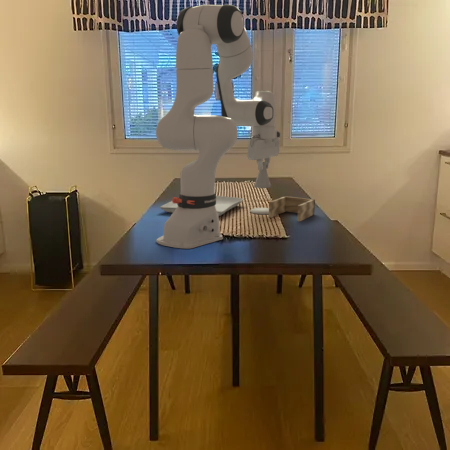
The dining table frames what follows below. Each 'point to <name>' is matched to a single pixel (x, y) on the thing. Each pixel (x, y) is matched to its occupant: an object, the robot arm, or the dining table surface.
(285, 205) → the u-shaped wooden frame
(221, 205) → the square plate
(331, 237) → the dining table surface
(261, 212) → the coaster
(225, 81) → the robot arm
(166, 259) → the dining table surface
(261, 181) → the flask
